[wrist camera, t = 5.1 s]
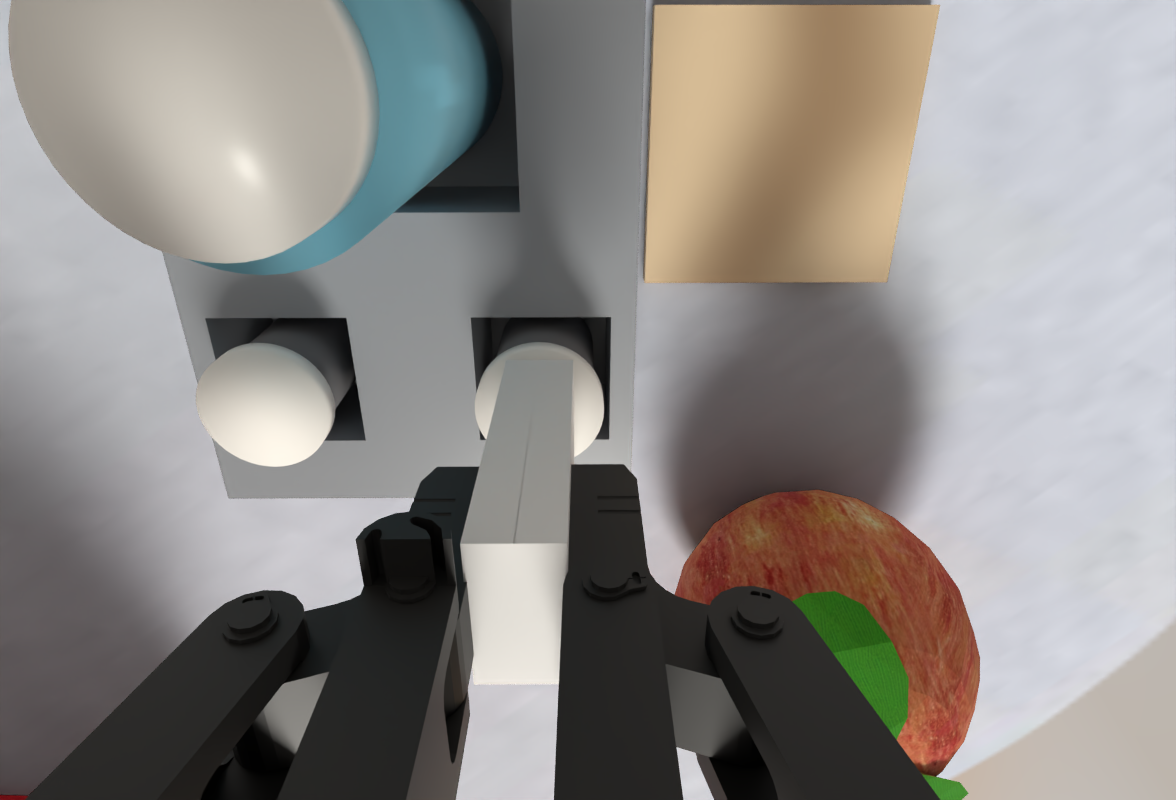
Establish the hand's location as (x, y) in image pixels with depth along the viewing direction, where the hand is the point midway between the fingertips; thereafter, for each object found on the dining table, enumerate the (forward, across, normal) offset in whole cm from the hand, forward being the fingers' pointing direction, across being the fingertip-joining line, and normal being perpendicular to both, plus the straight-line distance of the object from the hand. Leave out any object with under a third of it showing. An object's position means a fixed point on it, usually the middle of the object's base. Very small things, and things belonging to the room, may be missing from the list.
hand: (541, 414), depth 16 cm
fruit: (+6, +8, -8) cm, 13 cm away
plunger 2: (+4, 0, 0) cm, 4 cm away
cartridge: (+5, -3, +7) cm, 9 cm away
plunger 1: (+4, -6, 0) cm, 8 cm away
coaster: (+6, +6, +5) cm, 10 cm away
